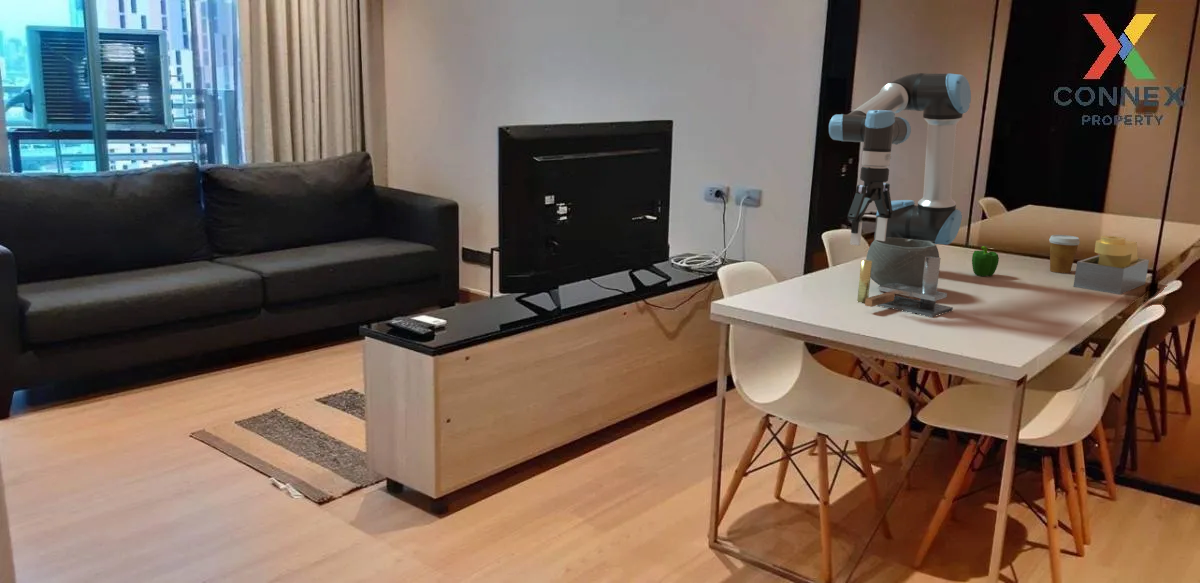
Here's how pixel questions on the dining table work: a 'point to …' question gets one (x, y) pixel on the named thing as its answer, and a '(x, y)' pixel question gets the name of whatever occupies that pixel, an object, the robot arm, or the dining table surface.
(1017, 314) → the dining table surface
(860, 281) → the gold rounded cylinder
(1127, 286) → the grey open-top box
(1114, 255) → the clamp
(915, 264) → the bowl
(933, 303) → the grey lever block
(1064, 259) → the disposable coffee cup
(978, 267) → the bell pepper
